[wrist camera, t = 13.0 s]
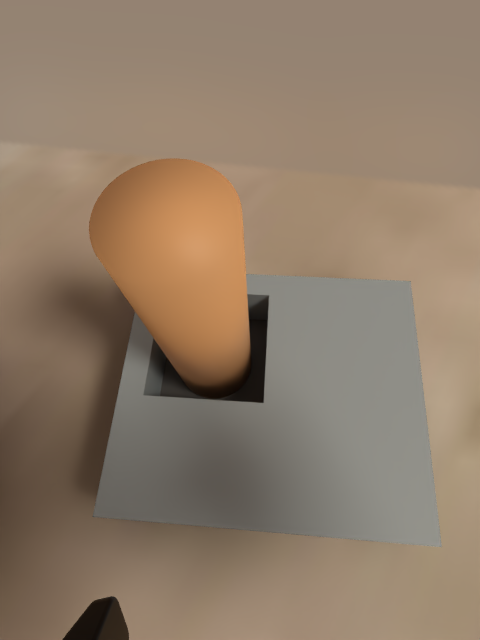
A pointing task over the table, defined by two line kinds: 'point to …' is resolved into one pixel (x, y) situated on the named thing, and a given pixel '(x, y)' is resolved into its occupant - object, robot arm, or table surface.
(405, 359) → the socket block
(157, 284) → the pin
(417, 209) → the table surface
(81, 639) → the robot arm
